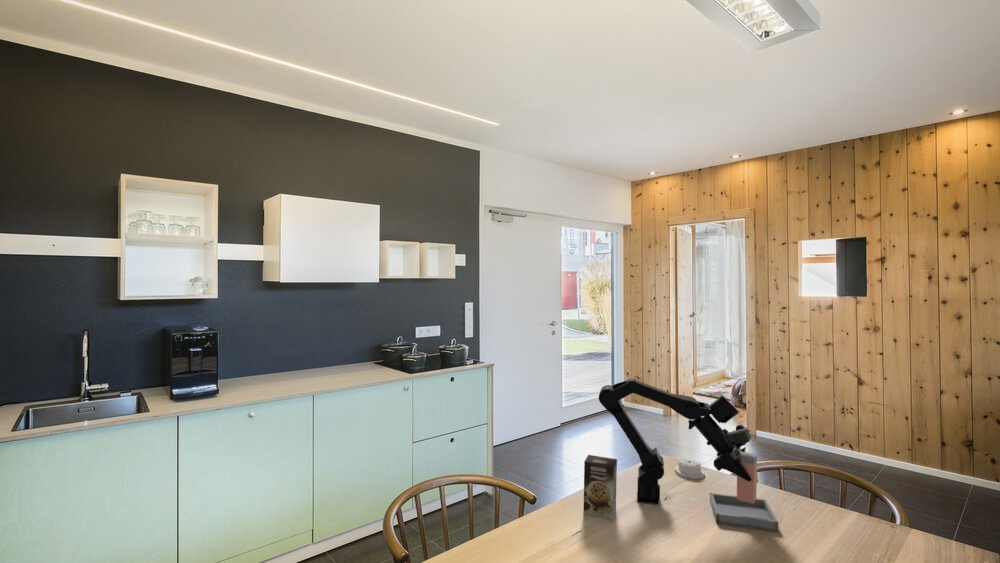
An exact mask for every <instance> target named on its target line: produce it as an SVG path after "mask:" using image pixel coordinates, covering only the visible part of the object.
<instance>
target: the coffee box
mask: <svg viewBox="0 0 1000 563" xmlns="http://www.w3.org/2000/svg"><path fill="white" fill-rule="evenodd" d="M583 464H584V466H583V470H584V471H583V511H582V512H583V515H588V516H592V517H599V518H602V519H603V518H604V519H608V520H611V521H612V520H614V518H615V515H616V512H617V479H618V478H617V474H618V472H617V470H618V459H617V458H612V457H611V458H610V457H604V456H601V455H599V456H598V455H592V454H588V455H587V456H586V458H585V459H584V463H583Z"/></svg>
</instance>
